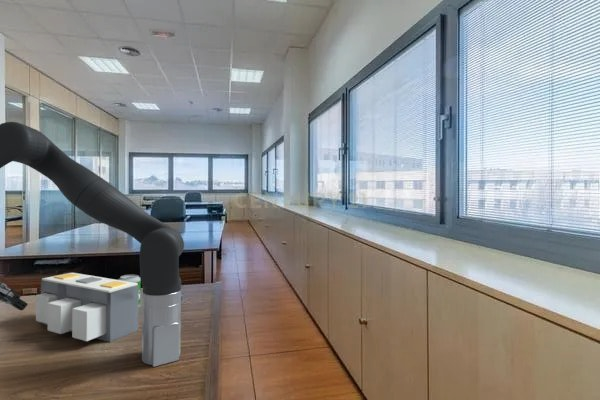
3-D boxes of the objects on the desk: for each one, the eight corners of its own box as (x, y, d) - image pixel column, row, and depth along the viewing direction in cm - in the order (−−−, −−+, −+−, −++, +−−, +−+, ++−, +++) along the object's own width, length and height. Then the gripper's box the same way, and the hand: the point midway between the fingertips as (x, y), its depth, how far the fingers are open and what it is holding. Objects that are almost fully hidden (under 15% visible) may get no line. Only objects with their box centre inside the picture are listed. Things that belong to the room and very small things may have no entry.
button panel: (110, 342, 96) (110, 289, 96) (40, 323, 109) (41, 277, 109) (138, 330, 105) (138, 282, 105) (70, 314, 118) (71, 271, 118)
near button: (86, 341, 92) (86, 311, 92) (72, 337, 94) (72, 308, 94) (116, 329, 100) (116, 302, 100) (102, 326, 103) (102, 299, 103)
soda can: (133, 313, 120) (134, 279, 119) (112, 312, 120) (113, 278, 120) (144, 306, 127) (144, 274, 127) (124, 305, 127) (124, 273, 127)
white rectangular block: (48, 323, 104) (48, 297, 103) (35, 320, 106) (36, 295, 106) (77, 314, 112) (77, 290, 112) (65, 311, 114) (65, 288, 114)
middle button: (60, 334, 96) (60, 305, 96) (47, 330, 99) (47, 302, 99) (91, 323, 105) (91, 297, 105) (78, 320, 107) (78, 294, 107)
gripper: (-3, 264, 89) (47, 298, 100) (-30, 260, 94) (21, 292, 105) (-30, 290, 84) (26, 322, 95) (-56, 283, 89) (0, 315, 101)
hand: (23, 307), depth 100 cm, fingers closed
